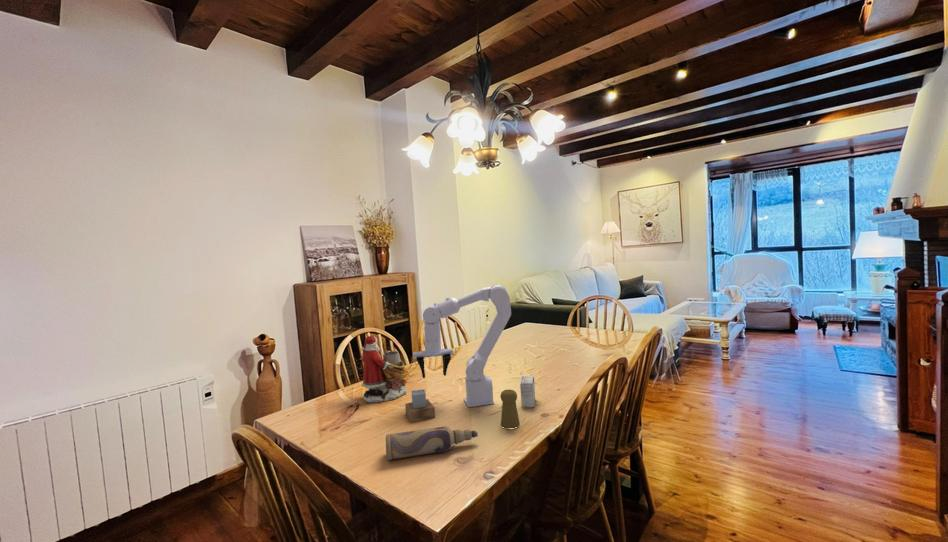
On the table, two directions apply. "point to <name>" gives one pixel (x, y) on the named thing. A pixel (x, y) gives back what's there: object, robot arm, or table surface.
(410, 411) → the walnut block
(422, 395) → the slate cube
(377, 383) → the santa figurine
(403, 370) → the magic lamp
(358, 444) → the table surface
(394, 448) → the decorative bottle
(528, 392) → the medicine box
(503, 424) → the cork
